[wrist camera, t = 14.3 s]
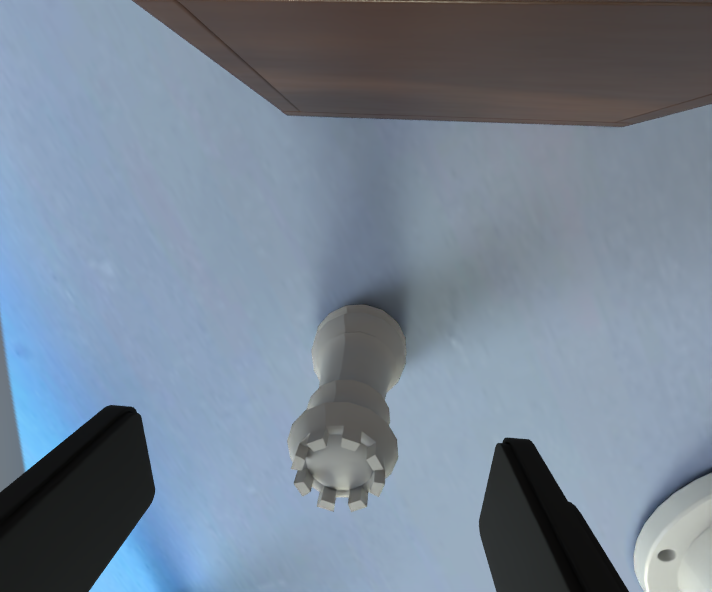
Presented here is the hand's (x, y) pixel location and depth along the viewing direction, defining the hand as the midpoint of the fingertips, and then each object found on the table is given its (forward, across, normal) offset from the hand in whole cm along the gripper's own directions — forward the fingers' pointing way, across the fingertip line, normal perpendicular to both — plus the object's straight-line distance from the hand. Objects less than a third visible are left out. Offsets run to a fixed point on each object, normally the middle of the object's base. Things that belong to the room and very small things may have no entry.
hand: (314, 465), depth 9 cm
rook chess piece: (+8, -1, 0) cm, 8 cm away
